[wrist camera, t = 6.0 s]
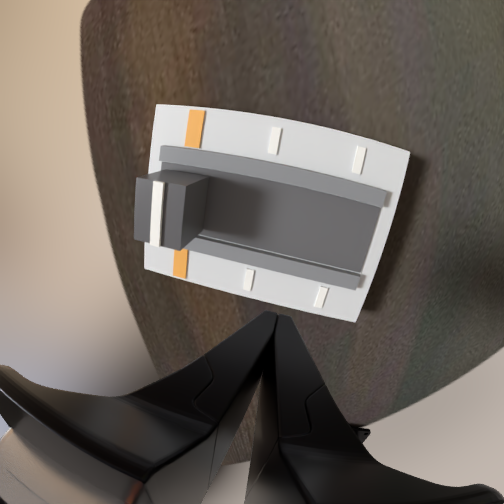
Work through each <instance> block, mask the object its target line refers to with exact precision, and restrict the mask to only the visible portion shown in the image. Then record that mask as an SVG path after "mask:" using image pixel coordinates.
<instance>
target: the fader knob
mask: <svg viewBox="0 0 504 504" xmlns="http://www.w3.org/2000/svg"><path fill="white" fill-rule="evenodd" d="M208 183H209V176H204V175H198V174H193V173H187V172H180V171H174V170H168V169H165V170H161V171H158V172H154V173H150V174H147V175H143V176H140V177H137V178H136V193H135V216H134V239H135V240H139V241H143V242H147V243H150V245H152V246H156V247H160V246H162V247H166V248H170V249H174V250H178V251H181V250H182V249H183V248H184V247H185V246H186V245H187V244H189V243H190V242H191V241H192V240H193V239H194V238H195V237H197V236H198V235H199V234H200V233H201V232H202V231H203V223H204V214H205V206H206V198H207V190H208Z"/></svg>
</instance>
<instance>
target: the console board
mask: <svg viewBox="0 0 504 504" xmlns="http://www.w3.org/2000/svg"><path fill="white" fill-rule="evenodd" d="M409 156H410V152H409V151H406V150H403V149H400V148H397V147H394V146H391V145H388V144H385V143H381V142H378V141H375V140H371V139H368V138H364V137H361V136H357V135H354V134H350V133H346V132H342V131H338V130H334V129H330V128H326V127H322V126H317V125H313V124H308V123H303V122H298V121H293V120H288V119H283V118H277V117H272V116H266V115H260V114H253V113H246V112H239V111H231V110H223V109H214V108H204V107H192V106H178V105H159V104H157V105H156V112H155V119H154V126H153V134H152V143H151V152H150V162H149V173H148V174H150V173H154V172H158V171H161V170H165V169H168V170H174V171H180V172H187V173H193V174H198V175H204V176H209V183H208V190H207V198H206V206H205V214H204V223H203V231H202V232H201V233H200V234H199V235H198V236H197V237H195V238H194V239H193V240H192V241H191V242H190V243H189V244H187V245H186V246H185V247H184V248H183V249H182V250H181V251H178V250H174V249H170V248H166V247H162V246H160V247H156V246H152V245H150V243H147V242H145V261H144V269H148V270H151V271H154V272H158V273H161V274H165V275H168V276H171V277H175V278H178V279H182V280H185V281H189V282H193V283H196V284H200V285H203V286H207V287H211V288H214V289H218V290H222V291H226V292H229V293H233V294H237V295H241V296H245V297H249V298H253V299H257V300H261V301H265V302H269V303H273V304H277V305H281V306H285V307H289V308H293V309H298V310H302V311H306V312H311V313H315V314H319V315H324V316H328V317H333V318H337V319H342V320H347V321H351V322H356V320H357V318H358V315H359V313H360V310H361V308H362V305H363V303H364V300H365V298H366V295H367V293H368V290H369V288H370V285H371V282H372V280H373V277H374V274H375V272H376V269H377V266H378V263H379V260H380V257H381V255H382V252H383V249H384V246H385V243H386V240H387V236H388V233H389V230H390V227H391V224H392V220H393V217H394V214H395V210H396V207H397V203H398V200H399V196H400V192H401V188H402V185H403V181H404V177H405V173H406V169H407V164H408V160H409Z"/></svg>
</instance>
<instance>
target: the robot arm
mask: <svg viewBox="0 0 504 504" xmlns="http://www.w3.org/2000/svg"><path fill="white" fill-rule="evenodd" d="M264 365H265V366H264ZM262 372H263V373H262ZM261 376H262V378H261ZM260 379H261V384H260V392H259V400H258V408H257V416H256V424H255V431H254V439H253V446H252V454H251V461H250V468H249V475H248V482H247V489H246V496H245V502H244V504H503V503H504V497H503V496H502V494H500V493H499V492H498V491H497V490H496V489H494V488H491V487H489V486H486V485H484V484H474V485H469V486H463V487H450V486H443V485H439V484H435V483H432V482H429V481H426V480H423V479H420V478H417V477H414V476H411V475H408V474H406V473H403V472H400V471H398V470H395V469H392V468H390V467H387V466H385V465H383V464H381V463H380V462H378V461H377V460H376V459H374V458H373V457H372V456H371V454H370V453H369V452H368V451H367V450H366V448H365V447H364V445H363V444H362V443H363V442H364V441H365V439H366V438H367V437H368V436H369V435H370V430H369V429H364V428H355V427H350V425H349V424H348V422H347V421H346V419H345V418H344V416H343V415H342V413H341V411H340V410H339V408H338V407H337V405H336V403H335V401H334V400H333V398H332V396H331V394H330V392H329V390H328V388H327V386H326V385H325V382H324V380H323V378H322V377H321V375H320V373H319V371H318V369H317V367H316V365H315V363H314V361H313V359H312V357H311V355H310V353H309V351H308V349H307V347H306V345H305V343H304V341H303V339H302V337H301V335H300V333H299V331H298V329H297V327H296V325H295V323H294V321H293V319H292V317H291V316H288V315H284V314H278V315H277V313H275V312H271V311H267V310H265V311H264V312H262V313H261V314H259V315H258V316H257V317H255V318H254V319H253V320H251V321H250V322H249V323H247V324H246V325H244V326H243V327H242V328H240V329H239V330H238V331H236V332H235V333H233V334H232V335H231V336H229V337H228V338H226V339H225V340H223V341H222V342H221V343H219V344H218V345H216V346H215V347H214V348H212V349H211V350H209V351H208V352H206V353H205V354H204V355H202V356H200V357H199V358H197V359H196V360H194V361H193V362H191V363H190V364H188V365H186V366H185V367H183V368H182V369H180V370H178V371H176V372H174V373H172V374H170V375H168V376H166V377H164V378H162V379H160V380H158V381H156V382H153V383H151V384H149V385H147V386H145V387H143V388H140V389H138V390H136V391H134V392H131V393H129V394H126V395H122V396H116V397H106V396H98V395H89V394H83V393H76V392H69V391H64V390H58V389H53V388H49V387H45V386H41V385H39V384H36V383H34V382H31V381H29V380H28V379H26V378H24V377H23V376H22V375H20V374H19V373H18V372H17V371H15V370H14V369H12V368H11V367H9V366H5V365H0V414H1V416H2V417H3V419H4V420H5V421H6V423H7V424H8V426H9V427H10V428H9V429H8V430H7V432H6V433H5V434H4V435H3V436H2V438H1V439H0V504H201V502H202V500H203V498H204V496H205V494H206V493H207V490H208V489H209V487H210V485H211V483H212V481H213V479H214V477H215V475H216V473H217V471H218V469H219V467H220V465H221V463H222V461H223V459H224V457H225V455H226V453H227V451H228V449H229V447H230V445H231V443H232V441H233V438H234V436H235V434H236V432H237V430H238V428H239V426H240V424H241V421H242V419H243V417H244V415H245V413H246V411H247V408H248V406H249V404H250V402H251V400H252V397H253V395H254V393H255V391H256V388H257V386H258V384H259V381H260Z"/></svg>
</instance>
